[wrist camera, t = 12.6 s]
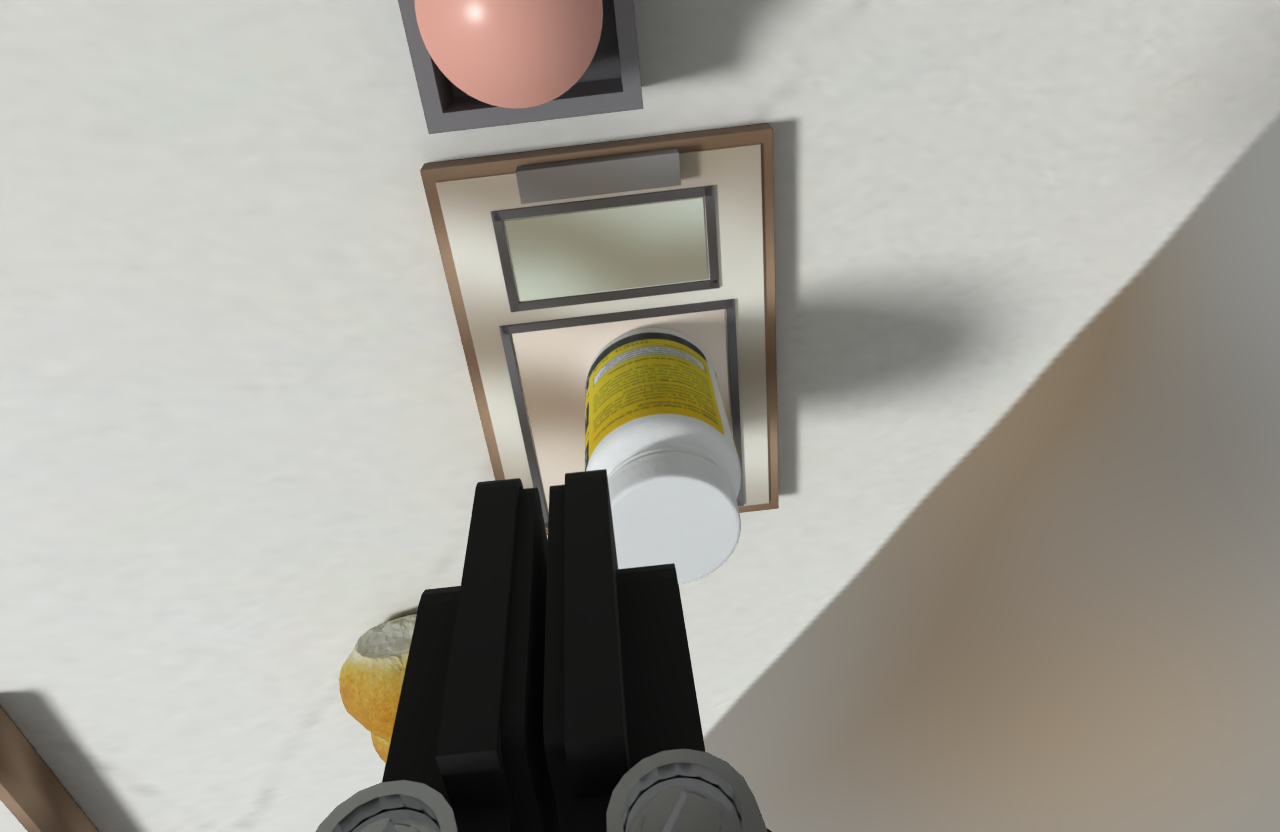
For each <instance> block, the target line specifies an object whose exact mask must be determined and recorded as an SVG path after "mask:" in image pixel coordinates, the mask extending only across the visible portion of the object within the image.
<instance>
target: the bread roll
mask: <svg viewBox="0 0 1280 832" xmlns="http://www.w3.org/2000/svg"><path fill="white" fill-rule="evenodd" d="M416 616H417V614H413V615H408V616H405V617H400V618H397V619H394V620H391V621H388V622H385V623H382V624H380V625H378V626H376V627H373V628H371V629H370V630H368V631H367V632H366V633H364V634H363V635H362V636H361V637H360V638H359V640H358V642H357V644H356V646H355V648H354V650H353V651H352V653H351V654H350V656H349V657H348V658H347V660H346V661H345V663H344V664H343V666H342V668H341V673H340V679H339V681H340V693H341V697H342V701H343V704H344V706H345V708H346V710H347V712H348V713H349V714H350V715H351V716H352V717H354V718H355V719H356V720H357V721H358V722H359V723H361V724H362V725H363V726H364V727H365V728H366V729H367V730H369V731H371V736H372V741H373V745H374V747H375V750H376V751H377V753H378V754H379V756H380V758H381V759H382V760H383V761H384V762H385V763H386V761H387V756H388V751H389V747H390V742H391V737H392V732H393V727H394V722H395V718H396V713H397V708H398V703H399V698H400V693H401V688H402V684H403V679H404V674H405V669H406V664H407V659H408V655H409V650H410V645H411V640H412V635H413V630H414V626H415V621H416Z"/></svg>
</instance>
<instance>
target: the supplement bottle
mask: <svg viewBox="0 0 1280 832" xmlns="http://www.w3.org/2000/svg"><path fill="white" fill-rule="evenodd" d="M602 469H606V470H607V477H608V486H609V494H610V503H611V511H612V520H613V528H614V537H615V545H616V554H617V562H618V569H625V568H634V567H644V566H653V565H662V564H672V563H674V564H675V568H676V573H677V579H678V585H679V584H685V583H689V582H692V581H695V580H698V579H700V578H703V577H704V576H706V575H708V574H710V573H712V572H713V571H715V570H716V569H717V568H719V567H720V566H721V565H722V564H723V563H724V562H725V561H726V560H727V559H728V558H729V557H730V555H731V554H732V553H733V551H734V549H735V547H736V545H737V543H738V540H739V536H740V531H741V520H740V514H739V509H738V504H737V497H738V494H739V490H740V485H741V468H740V462H739V457H738V453H737V450H736V446H735V443H734V439H733V436H732V432H731V429H730V425H729V421H728V417H727V414H726V410H725V406H724V403H723V399H722V395H721V392H720V388H719V384H718V381H717V376H716V373H715V370H714V367H713V365H712V362H711V361H710V359H709V357H708V356H707V354H706V353H705V352H704V350H703V349H702V348H701V347H700V346H699V345H698V344H697V343H695V342H694V341H693V340H691V339H690V338H688V337H687V336H685V335H683V334H681V333H679V332H676V331H673V330H670V329H665V328H641V329H636V330H633V331H629V332H627V333H624V334H622V335H620V336H618V337H617V338H615V339H613V340H612V341H610V342H609V343H608V344H607V345H605V346H604V347H603V348H602V349H601V350H600V351H599V353H598V354H597V355H596V357H595V358H594V360H593V361H592V363H591V366H590V368H589V371H588V374H587V378H586V387H585V471H593V470H602Z"/></svg>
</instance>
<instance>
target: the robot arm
mask: <svg viewBox="0 0 1280 832" xmlns="http://www.w3.org/2000/svg"><path fill="white" fill-rule="evenodd" d="M316 832H771V831H770V830H769V829H767V828H766V826H765V823H764V820H763V818H762V815H761V813H760V810H759V807H758V805H757V802H756V799H755V797H754V795H753V793H752V792H751V790H750V788H749V786H748V785H747V783H746V781H745V779H744V777H743V776H742V775H740V774H739V773H738V772H737V771H736V770H735V769H734V768H733V767H732V766H731V765H730V764H729V763H727V762H726V761H724V760H722V759H720V758H717V757H716V756H713V755H712V754H709V753H707V752H705V747H704V741H703V734H702V728H701V722H700V716H699V710H698V703H697V697H696V691H695V685H694V678H693V672H692V666H691V660H690V654H689V647H688V641H687V635H686V629H685V623H684V616H683V610H682V604H681V598H680V591H679V585H678V579H677V573H676V568H675V564H674V563H672V564H662V565H653V566H644V567H634V568H625V569H618V562H617V554H616V545H615V537H614V528H613V520H612V511H611V503H610V494H609V486H608V477H607V470H606V469H602V470H593V471H583V472H573V473H565V485H555V486H550V489H549V520H548V540H547V534H546V529H545V523H544V518H543V512H542V506H541V501H540V495H539V491H538V488H537V487H536V488H526V489H524V488H523V484H522V481H521V479H520V478H515V479H506V480H496V481H486V482H478V483H477V486H476V490H475V497H474V503H473V510H472V517H471V523H470V530H469V536H468V543H467V549H466V556H465V563H464V569H463V576H462V582H461V586H456V587H447V588H437V589H428V590H425V591H424V592H423V594H422V596H421V599H420V602H419V606H418V611H417V616H416V621H415V626H414V630H413V635H412V640H411V645H410V650H409V655H408V659H407V664H406V669H405V674H404V679H403V684H402V688H401V693H400V698H399V703H398V708H397V713H396V718H395V722H394V727H393V732H392V737H391V742H390V747H389V751H388V756H387V761H386V766H385V771H384V776H383V780H382V783H379V784H377V785H374V786H371V787H369V788H366V789H364V790H361V791H359V792H357V793H356V794H354V795H353V796H351V797H350V798H348V799H347V800H346V801H344V802H343V803H341V804H340V805H338V806H337V807H336V808H335V809H334V810H333V811H332V812H331V813H330V815H329V816H328V817H327V818H326V819H325V820H324V821H323V822H322V823H321V824H320V825H319V827H318V829H317V830H316Z"/></svg>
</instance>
